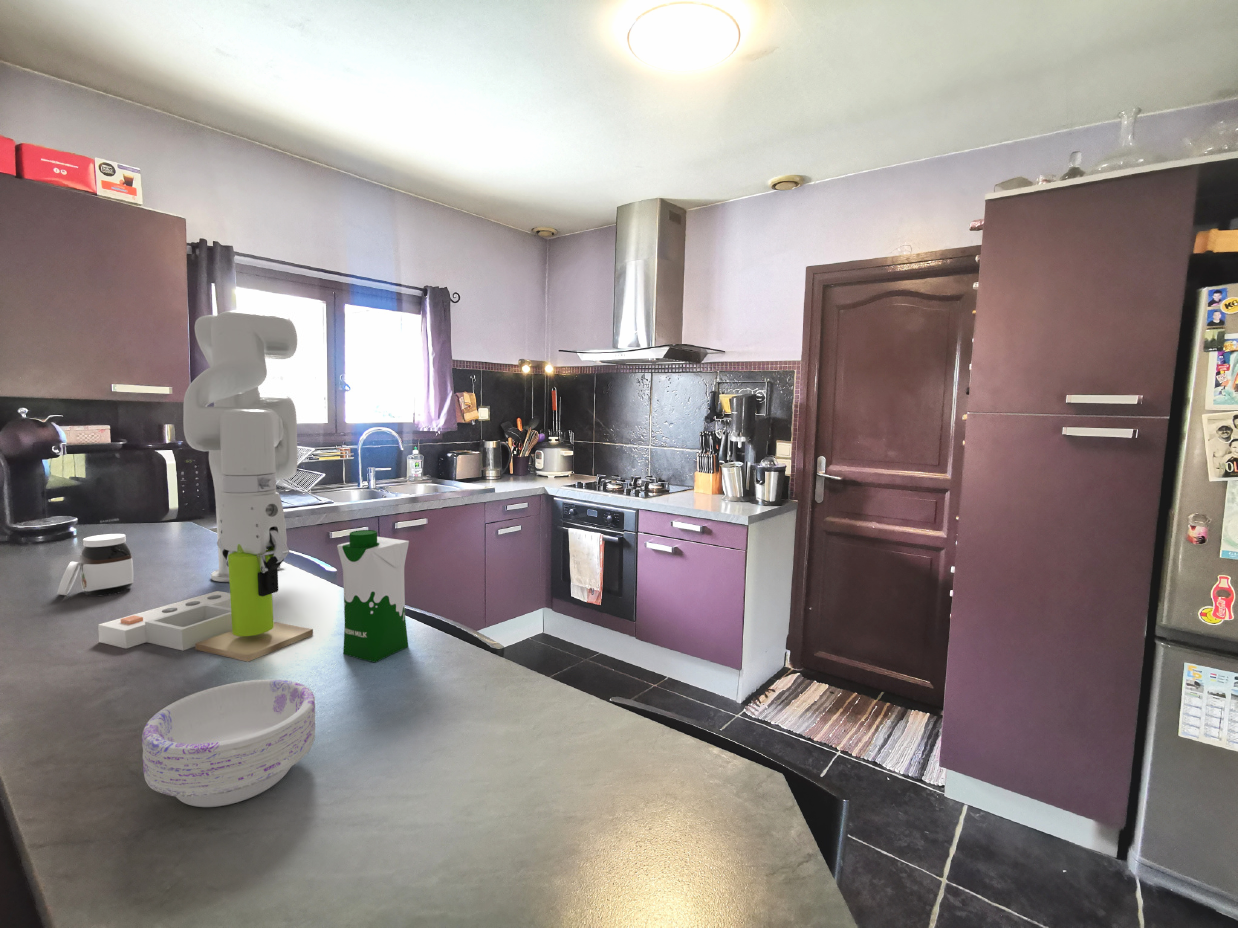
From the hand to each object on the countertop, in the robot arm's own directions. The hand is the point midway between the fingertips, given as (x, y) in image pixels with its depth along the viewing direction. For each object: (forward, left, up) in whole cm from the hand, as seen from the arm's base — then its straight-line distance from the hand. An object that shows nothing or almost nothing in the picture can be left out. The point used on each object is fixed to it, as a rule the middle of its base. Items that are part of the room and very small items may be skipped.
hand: (254, 590), depth 99 cm
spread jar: (-6, -55, -9) cm, 56 cm away
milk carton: (-5, +21, -9) cm, 24 cm away
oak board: (0, 0, -9) cm, 9 cm away
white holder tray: (0, -15, -9) cm, 18 cm away
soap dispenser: (0, 0, -7) cm, 7 cm away
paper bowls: (+27, +32, -9) cm, 43 cm away
